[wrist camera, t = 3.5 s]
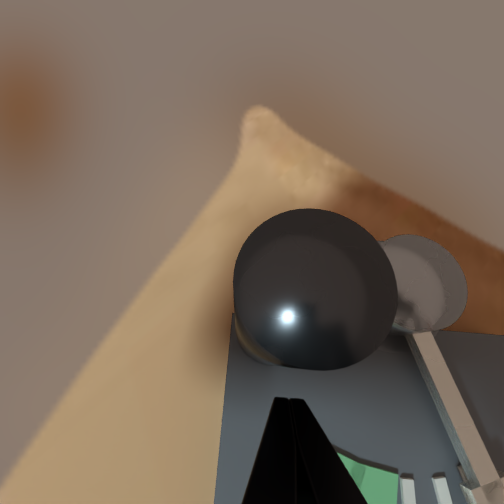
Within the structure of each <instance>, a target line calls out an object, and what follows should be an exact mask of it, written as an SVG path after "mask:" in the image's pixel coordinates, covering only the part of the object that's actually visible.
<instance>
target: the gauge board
mask: <svg viewBox="0 0 504 504" xmlns="http://www.w3.org/2000/svg"><path fill="white" fill-rule="evenodd" d="M377 242H378V243H379V244H381V243H383V242H384V241H377ZM431 333H432V335H433V337H434V339H435V341H436V344H437V346H438V348H439V350H440V352H441V354H442V356H443V358H444V361H445V363H446V365H447V367H448V369H449V371H450V373H451V375H452V378H453V380H454V382H455V384H456V386H457V388H458V390H459V392H460V395H461V397H462V399H463V401H464V403H465V405H466V407H467V409H468V412H469V414H470V416H471V418H472V420H473V422H474V424H475V426H476V429H477V431H478V433H479V435H480V437H481V439H482V441H483V443H484V445H485V448H486V450H487V452H488V454H489V456H490V458H491V460H492V462H493V465H494V467H495V469H497V470H499V471H502V472H504V335H492V334H480V333H468V332H456V331H444V330H436V331H431ZM275 397H286V398H288V399H290V398H300V399H304V400H305V401H306V403H307V405H308V406H309V408H310V410H311V411H312V413H313V414H314V416H315V418H316V419H317V421H318V423H319V424H320V426H321V428H322V429H323V431H324V432H325V434H326V436H327V437H328V439H329V441H330V442H331V444H332V446H333V447H334V449H335V450H336V452H337V454H338V455H339V457H340V459H341V460H342V462H343V463H344V465H345V467H346V468H347V470H348V472H349V473H350V475H351V477H352V478H353V480H354V481H355V483H356V485H357V486H358V488H359V490H360V491H361V493H362V495H363V496H364V498H365V499H366V501H367V503H368V504H467V502H466V500H465V497H464V495H463V493H462V490H461V488H460V486H459V483H461V482H464V481H466V480H468V479H467V477H466V474H465V472H464V470H463V468H462V465H461V463H460V461H459V458H458V456H457V454H456V452H455V449H454V447H453V445H452V443H451V440H450V438H449V436H448V433H447V431H446V429H445V427H444V424H443V422H442V420H441V417H440V415H439V413H438V411H437V408H436V406H435V404H434V402H433V399H432V397H431V395H430V392H429V390H428V388H427V386H426V383H425V381H424V379H423V377H422V374H421V372H420V370H419V367H418V365H417V363H416V361H415V358H414V356H413V354H412V352H411V349H410V347H409V345H408V342H407V340H406V338H405V336H393V335H387V337H386V338H385V340H384V341H383V343H382V344H381V345H380V346H379V347H378V348H377V349H376V350H375V351H374V352H373V353H372V354H371V355H369V356H368V357H367V358H365V359H363V360H362V361H360V362H358V363H356V364H354V365H351V366H349V367H346V368H341V369H337V370H328V371H317V370H306V369H297V368H288V367H279V366H270V365H264V364H261V363H258V362H256V361H254V360H253V359H251V358H250V357H249V356H248V355H247V354H246V353H245V352H244V351H243V349H242V348H241V346H240V344H239V342H238V340H237V337H236V332H235V313H232V324H231V334H230V344H229V355H228V365H227V375H226V385H225V396H224V406H223V416H222V427H221V437H220V447H219V457H218V468H217V478H216V488H215V498H214V504H241V503H242V500H243V497H244V493H245V490H246V487H247V484H248V480H249V477H250V474H251V471H252V467H253V464H254V461H255V458H256V454H257V451H258V448H259V445H260V441H261V438H262V435H263V432H264V428H265V425H266V422H267V418H268V415H269V412H270V409H271V405H272V402H273V399H274V398H275Z"/></svg>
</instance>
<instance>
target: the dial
mask: <svg viewBox="0 0 504 504" xmlns="http://www.w3.org/2000/svg"><path fill="white" fill-rule="evenodd" d="M233 290H234V312H235V332H236V337H237V340H238V342H239V344H240V346H241V348H242V349H243V351H244V352H245V353H246V354H247V355H248V356H249V357H250V358H251V359H253V360H254V361H256V362H258V363H261V364H264V365H270V366H279V367H288V368H297V369H306V370H317V371H328V370H337V369H341V368H346V367H349V366H351V365H354V364H356V363H358V362H360V361H362V360H363V359H365V358H367V357H368V356H369V355H371V354H372V353H373V352H374V351H375V350H376V349H377V348H378V347H379V346H380V345H381V344H382V343H383V341H384V340H385V338H386V337H387V335H393V336H405V338H406V340H407V342H408V345H409V347H410V349H411V352H412V354H413V356H414V358H415V361H416V363H417V365H418V367H419V370H420V372H421V374H422V377H423V379H424V381H425V383H426V386H427V388H428V390H429V392H430V395H431V397H432V399H433V402H434V404H435V406H436V408H437V411H438V413H439V415H440V417H441V420H442V422H443V424H444V427H445V429H446V431H447V433H448V436H449V438H450V440H451V443H452V445H453V447H454V449H455V452H456V454H457V456H458V458H459V461H460V463H461V465H462V468H463V470H464V472H465V474H466V477H467V479H468V480H466V481H464V482H461V483H459V486H460V488H461V490H462V493H463V495H464V497H465V500H466V502H467V504H504V472H502V471H499V470H497V469H495V467H494V465H493V462H492V460H491V458H490V456H489V454H488V452H487V450H486V448H485V445H484V443H483V441H482V439H481V437H480V435H479V433H478V431H477V429H476V426H475V424H474V422H473V420H472V418H471V416H470V414H469V412H468V409H467V407H466V405H465V403H464V401H463V399H462V397H461V395H460V392H459V390H458V388H457V386H456V384H455V382H454V380H453V378H452V375H451V373H450V371H449V369H448V367H447V365H446V363H445V361H444V358H443V356H442V354H441V352H440V350H439V348H438V346H437V344H436V341H435V339H434V337H433V335H432V333H431V331H436V330H441V329H444V328H446V327H448V326H450V325H452V324H453V323H454V322H455V321H457V320H458V318H459V317H460V316H461V315H462V313H463V311H464V309H465V306H466V303H467V295H468V290H467V283H466V279H465V276H464V273H463V271H462V269H461V267H460V265H459V264H458V262H457V261H456V260H455V258H454V257H453V256H452V255H451V254H450V253H449V252H448V251H447V250H446V249H445V248H444V247H442V246H441V245H439V244H438V243H436V242H434V241H433V240H430V239H428V238H425V237H422V236H418V235H409V234H406V235H398V236H394V237H391V238H389V239H387V240H386V241H384V242H383V243H381V244H379V243H378V242H377V241H376V240H375V239H374V237H373V236H372V235H371V234H370V233H368V232H367V231H366V230H365V229H364V228H363V227H361V226H360V225H358V224H357V223H355V222H354V221H352V220H350V219H348V218H346V217H344V216H342V215H340V214H337V213H334V212H330V211H326V210H321V209H296V210H290V211H287V212H284V213H280V214H278V215H276V216H274V217H272V218H270V219H268V220H267V221H265V222H263V223H262V224H261V225H260V226H259V227H257V228H256V229H255V230H254V231H253V232H252V233H251V234H250V236H249V237H248V238H247V240H246V241H245V243H244V244H243V246H242V248H241V250H240V252H239V255H238V257H237V260H236V264H235V269H234V277H233Z"/></svg>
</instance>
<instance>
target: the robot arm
mask: <svg viewBox="0 0 504 504" xmlns="http://www.w3.org/2000/svg"><path fill="white" fill-rule="evenodd" d="M241 504H368V503H367V501H366V499H365V498H364V496H363V495H362V493H361V491H360V490H359V488H358V486H357V485H356V483H355V481H354V480H353V478H352V477H351V475H350V473H349V472H348V470H347V468H346V467H345V465H344V463H343V462H342V460H341V459H340V457H339V455H338V454H337V452H336V450H335V449H334V447H333V446H332V444H331V442H330V441H329V439H328V437H327V436H326V434H325V432H324V431H323V429H322V428H321V426H320V424H319V423H318V421H317V419H316V418H315V416H314V414H313V413H312V411H311V410H310V408H309V406H308V405H307V403H306V401H305V400H304V399H300V398H290V399H288V398H286V397H275V398H274V399H273V402H272V405H271V409H270V412H269V415H268V418H267V422H266V425H265V428H264V432H263V435H262V438H261V441H260V445H259V448H258V451H257V454H256V458H255V461H254V464H253V467H252V471H251V474H250V477H249V480H248V484H247V487H246V490H245V493H244V497H243V500H242V503H241Z"/></svg>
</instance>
